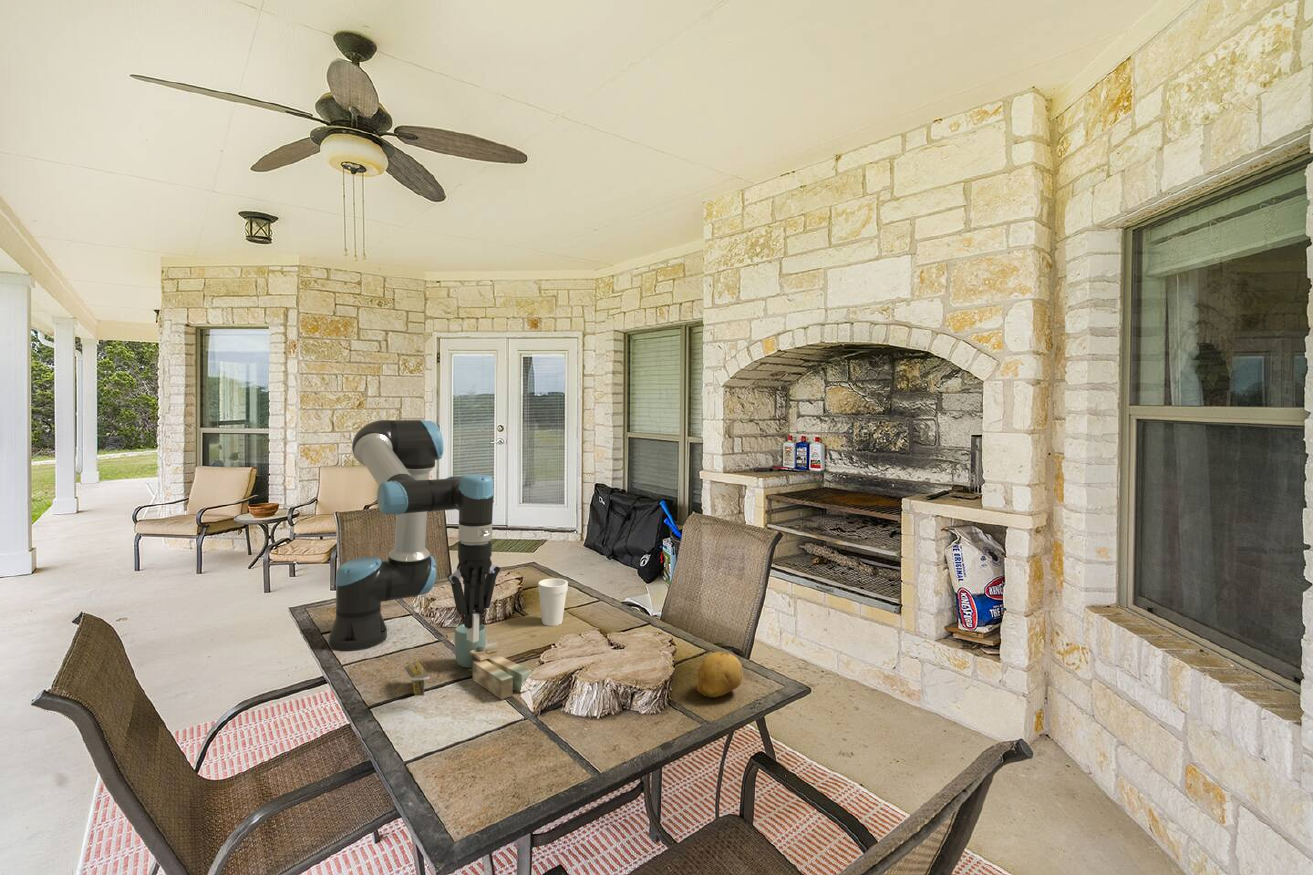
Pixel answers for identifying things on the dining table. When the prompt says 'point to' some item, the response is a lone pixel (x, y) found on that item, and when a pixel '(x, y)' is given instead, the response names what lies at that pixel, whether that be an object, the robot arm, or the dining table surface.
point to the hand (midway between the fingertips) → (472, 639)
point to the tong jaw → (491, 675)
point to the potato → (719, 674)
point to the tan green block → (508, 669)
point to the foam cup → (552, 600)
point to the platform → (417, 676)
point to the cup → (467, 645)
